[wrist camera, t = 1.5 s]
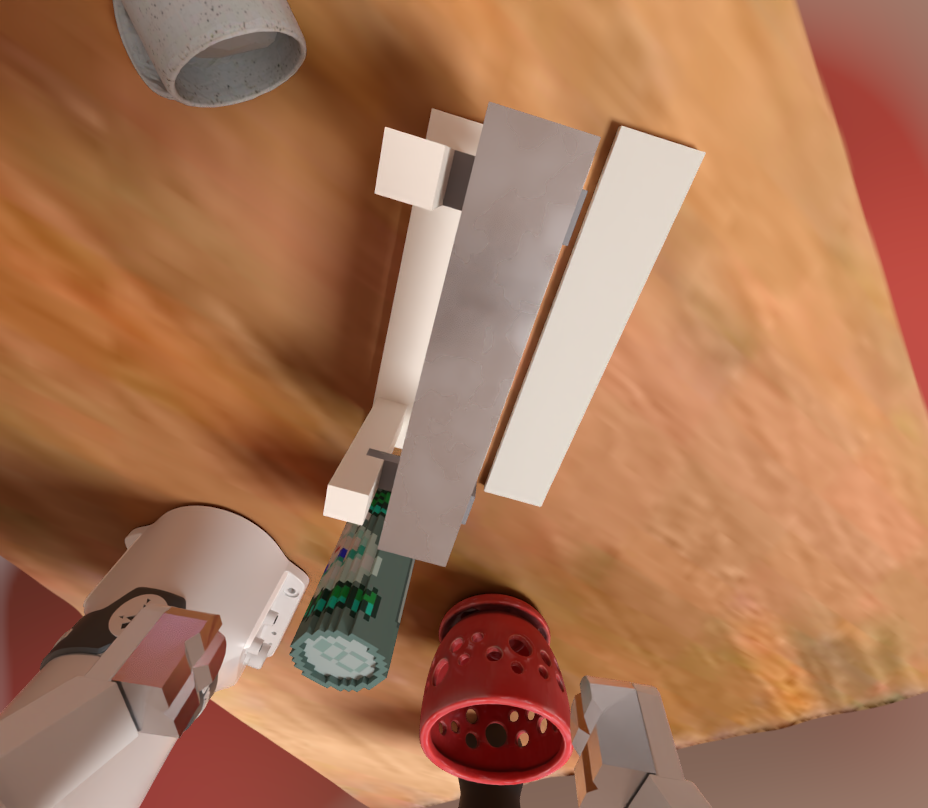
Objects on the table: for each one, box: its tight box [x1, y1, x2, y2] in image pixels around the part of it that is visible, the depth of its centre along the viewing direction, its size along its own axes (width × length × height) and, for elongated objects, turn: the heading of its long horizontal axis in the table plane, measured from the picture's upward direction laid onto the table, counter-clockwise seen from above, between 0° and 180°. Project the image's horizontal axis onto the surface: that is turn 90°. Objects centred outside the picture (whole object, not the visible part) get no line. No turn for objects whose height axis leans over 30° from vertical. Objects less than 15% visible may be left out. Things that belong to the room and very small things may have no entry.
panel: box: [484, 126, 706, 507], centre depth 33 cm, size 28×5×1 cm, turn 165°
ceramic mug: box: [113, 0, 307, 107], centre depth 22 cm, size 11×8×8 cm
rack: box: [323, 108, 593, 525], centre depth 27 cm, size 24×10×12 cm, turn 165°
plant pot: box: [419, 594, 574, 785], centre depth 42 cm, size 13×13×12 cm
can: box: [290, 488, 415, 692], centre depth 35 cm, size 6×6×15 cm
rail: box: [378, 102, 601, 567], centre depth 24 cm, size 24×4×3 cm, turn 165°
